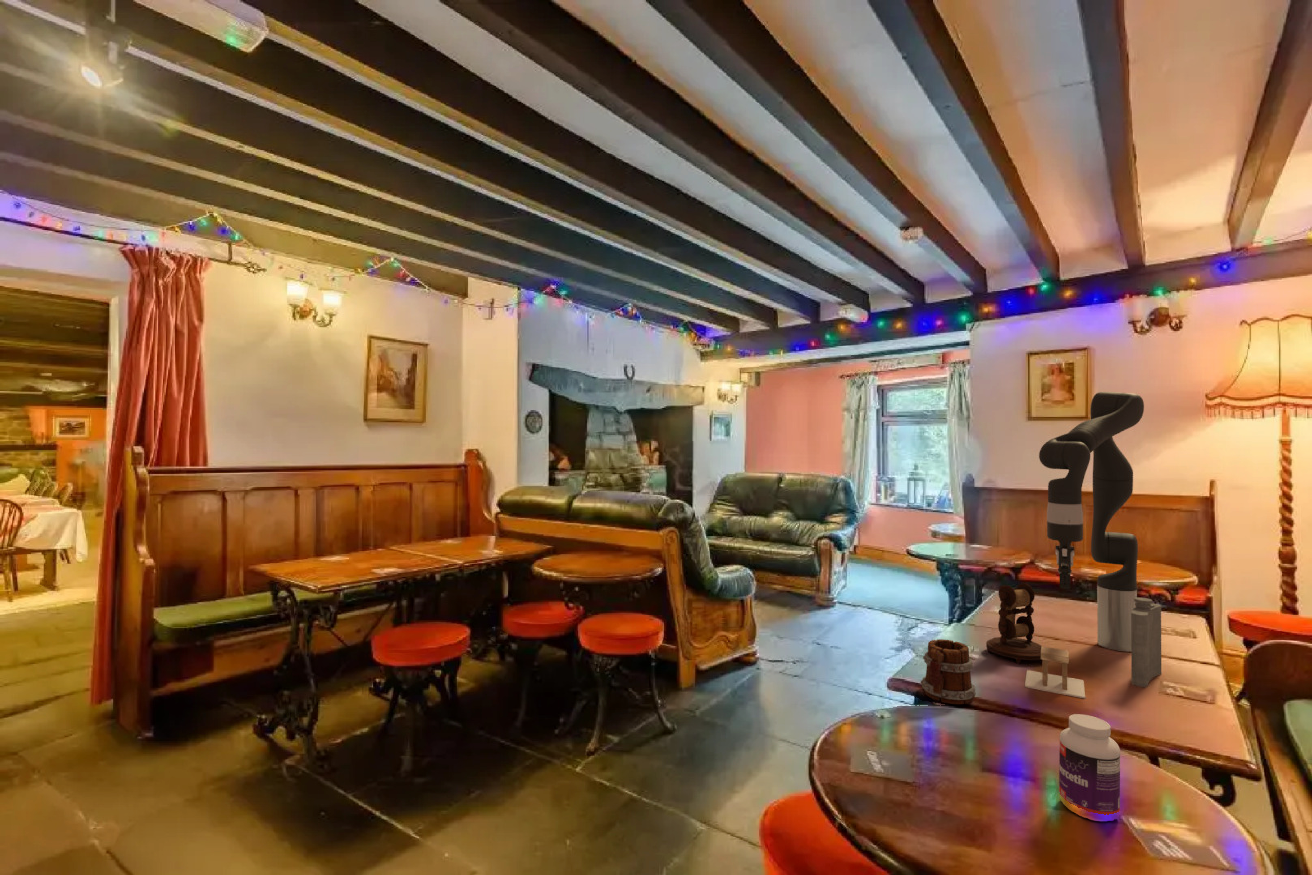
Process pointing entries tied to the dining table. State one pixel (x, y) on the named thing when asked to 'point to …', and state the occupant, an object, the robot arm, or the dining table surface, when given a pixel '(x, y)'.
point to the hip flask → (1145, 641)
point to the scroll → (1015, 625)
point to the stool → (1055, 656)
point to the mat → (1055, 684)
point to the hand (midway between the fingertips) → (1065, 584)
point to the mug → (948, 672)
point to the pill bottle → (1089, 765)
